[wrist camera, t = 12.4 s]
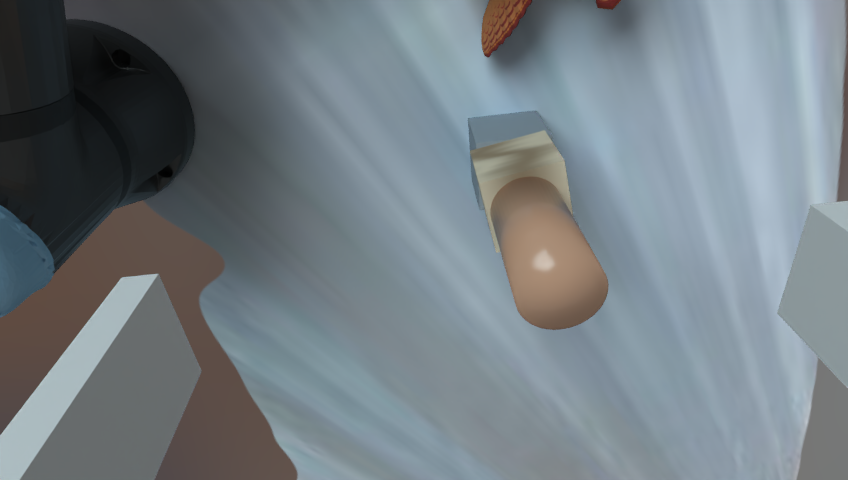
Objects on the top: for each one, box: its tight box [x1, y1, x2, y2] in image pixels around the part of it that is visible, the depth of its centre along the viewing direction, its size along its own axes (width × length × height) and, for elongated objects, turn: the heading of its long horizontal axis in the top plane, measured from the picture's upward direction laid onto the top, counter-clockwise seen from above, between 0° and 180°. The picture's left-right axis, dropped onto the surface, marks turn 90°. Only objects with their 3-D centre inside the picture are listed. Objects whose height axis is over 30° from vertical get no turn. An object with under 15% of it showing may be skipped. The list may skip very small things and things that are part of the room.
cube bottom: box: [468, 111, 552, 210], centre depth 46 cm, size 6×6×6 cm
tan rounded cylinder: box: [490, 176, 608, 330], centre depth 34 cm, size 5×5×10 cm
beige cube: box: [470, 130, 573, 253], centre depth 41 cm, size 6×6×6 cm
